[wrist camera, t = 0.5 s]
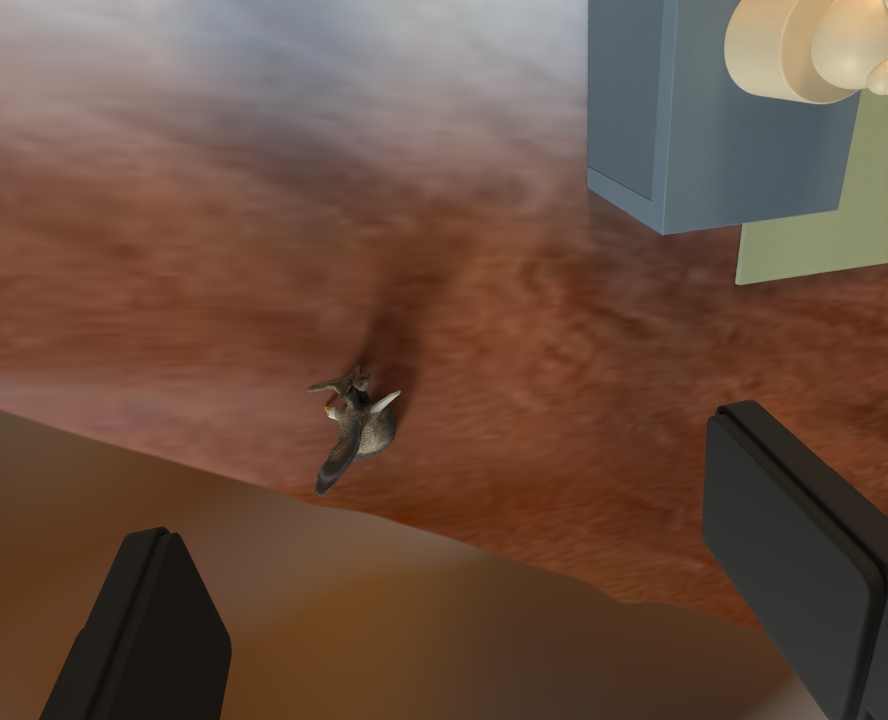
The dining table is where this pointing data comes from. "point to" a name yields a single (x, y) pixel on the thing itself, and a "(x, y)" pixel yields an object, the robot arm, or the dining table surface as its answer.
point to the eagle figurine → (355, 426)
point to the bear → (808, 48)
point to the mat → (831, 214)
